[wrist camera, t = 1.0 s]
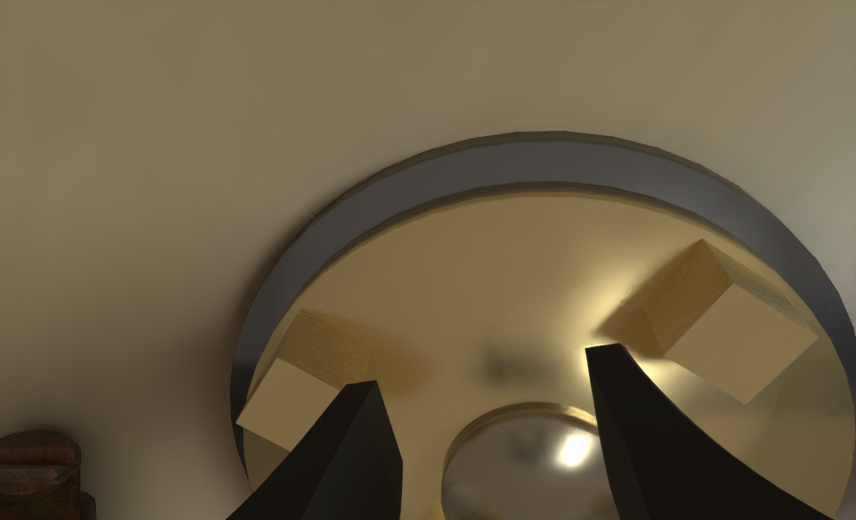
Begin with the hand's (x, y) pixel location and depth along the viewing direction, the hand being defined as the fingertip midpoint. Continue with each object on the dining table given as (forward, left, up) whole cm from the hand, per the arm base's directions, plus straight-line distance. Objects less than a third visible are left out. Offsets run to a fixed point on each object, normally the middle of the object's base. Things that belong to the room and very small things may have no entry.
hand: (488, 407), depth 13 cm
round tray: (0, +8, -8) cm, 11 cm away
